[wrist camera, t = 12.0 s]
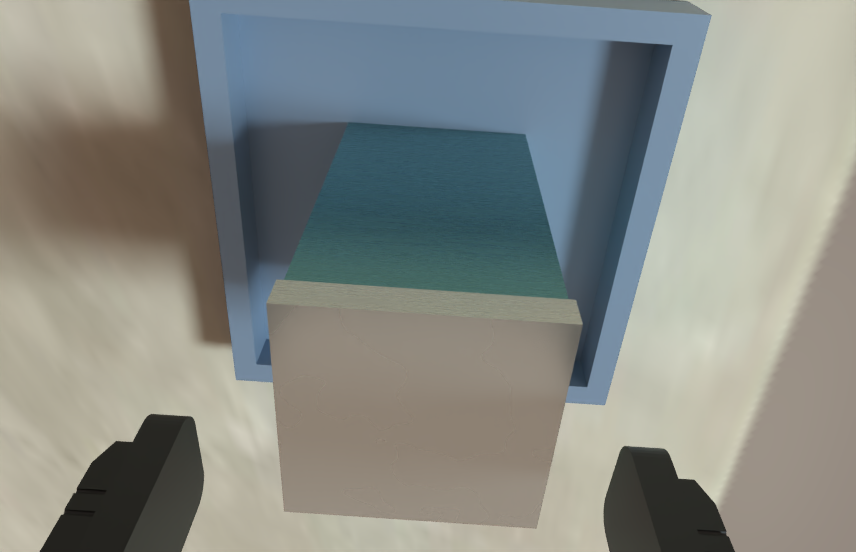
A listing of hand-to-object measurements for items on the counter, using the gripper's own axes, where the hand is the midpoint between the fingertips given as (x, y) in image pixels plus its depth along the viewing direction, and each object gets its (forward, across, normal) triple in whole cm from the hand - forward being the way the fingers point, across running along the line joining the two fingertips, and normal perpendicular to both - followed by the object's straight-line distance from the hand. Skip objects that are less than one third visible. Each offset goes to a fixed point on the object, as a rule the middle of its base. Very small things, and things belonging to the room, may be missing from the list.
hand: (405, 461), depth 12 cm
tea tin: (+11, 0, 0) cm, 11 cm away
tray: (+12, 0, 0) cm, 12 cm away
